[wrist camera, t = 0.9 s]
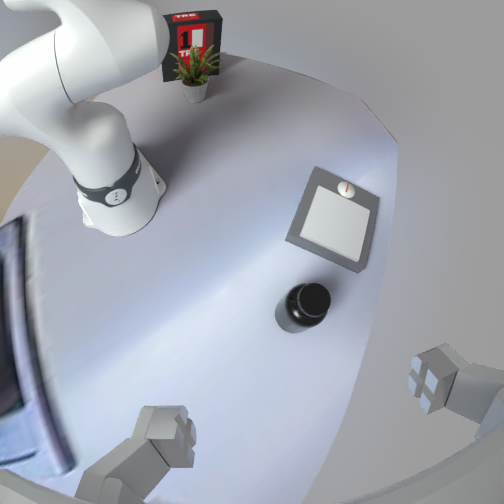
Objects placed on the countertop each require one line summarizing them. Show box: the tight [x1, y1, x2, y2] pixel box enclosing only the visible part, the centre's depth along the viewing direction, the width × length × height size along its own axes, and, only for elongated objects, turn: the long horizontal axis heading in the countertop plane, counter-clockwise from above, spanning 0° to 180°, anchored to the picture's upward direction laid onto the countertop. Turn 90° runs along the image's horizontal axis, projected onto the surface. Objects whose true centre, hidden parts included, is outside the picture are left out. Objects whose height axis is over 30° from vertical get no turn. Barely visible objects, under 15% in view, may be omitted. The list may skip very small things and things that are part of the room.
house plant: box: [169, 45, 224, 103], centre depth 59 cm, size 14×14×16 cm
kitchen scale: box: [285, 166, 379, 273], centre depth 55 cm, size 16×18×4 cm
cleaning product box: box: [162, 10, 223, 82], centre depth 62 cm, size 16×9×20 cm, turn 106°
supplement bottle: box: [275, 283, 331, 333], centre depth 43 cm, size 7×7×12 cm
